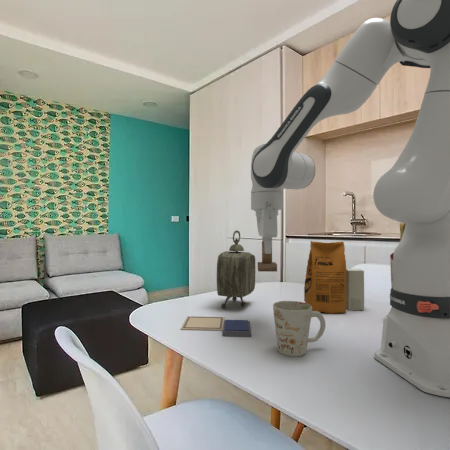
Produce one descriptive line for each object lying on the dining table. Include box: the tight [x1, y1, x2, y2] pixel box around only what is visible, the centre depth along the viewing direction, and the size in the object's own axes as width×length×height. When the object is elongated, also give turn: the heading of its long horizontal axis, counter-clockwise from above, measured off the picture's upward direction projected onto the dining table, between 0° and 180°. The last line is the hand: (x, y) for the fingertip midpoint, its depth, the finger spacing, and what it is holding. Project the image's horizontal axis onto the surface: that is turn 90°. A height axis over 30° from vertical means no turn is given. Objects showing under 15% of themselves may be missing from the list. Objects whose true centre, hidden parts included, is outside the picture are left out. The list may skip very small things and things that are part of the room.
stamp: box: [257, 241, 278, 273], centre depth 93 cm, size 5×5×8 cm
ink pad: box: [221, 319, 252, 338], centre depth 86 cm, size 9×7×2 cm
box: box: [346, 268, 365, 311], centre depth 109 cm, size 5×4×13 cm
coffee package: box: [303, 240, 347, 315], centre depth 107 cm, size 10×12×22 cm
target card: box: [180, 315, 226, 331], centre depth 91 cm, size 11×11×1 cm
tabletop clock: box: [216, 230, 256, 309], centre depth 111 cm, size 14×9×25 cm, turn 160°
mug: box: [272, 300, 326, 357], centre depth 74 cm, size 8×13×10 cm, turn 111°
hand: (267, 253), depth 93 cm, fingers closed on stamp, 3 cm apart
